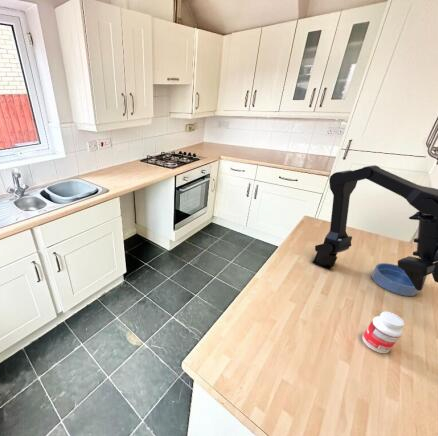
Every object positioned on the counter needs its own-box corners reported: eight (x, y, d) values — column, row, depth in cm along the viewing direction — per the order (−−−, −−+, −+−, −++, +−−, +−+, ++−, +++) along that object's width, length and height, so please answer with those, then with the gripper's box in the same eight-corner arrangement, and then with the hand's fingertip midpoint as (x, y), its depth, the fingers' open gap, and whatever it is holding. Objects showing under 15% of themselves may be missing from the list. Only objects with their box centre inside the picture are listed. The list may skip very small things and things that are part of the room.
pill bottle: (368, 331, 74) (384, 306, 69) (393, 348, 69) (413, 322, 64) (357, 339, 72) (373, 314, 67) (381, 357, 67) (401, 332, 62)
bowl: (368, 283, 92) (373, 274, 90) (373, 267, 100) (378, 258, 98) (416, 303, 84) (423, 293, 81) (418, 283, 91) (424, 274, 89)
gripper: (456, 249, 59) (450, 307, 62) (496, 235, 64) (489, 289, 67) (397, 240, 70) (394, 290, 72) (436, 228, 75) (432, 275, 78)
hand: (428, 286), depth 72 cm, fingers open, 9 cm apart
